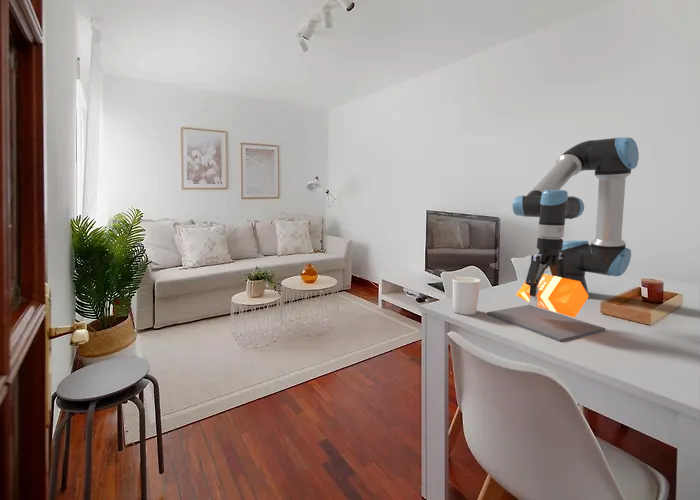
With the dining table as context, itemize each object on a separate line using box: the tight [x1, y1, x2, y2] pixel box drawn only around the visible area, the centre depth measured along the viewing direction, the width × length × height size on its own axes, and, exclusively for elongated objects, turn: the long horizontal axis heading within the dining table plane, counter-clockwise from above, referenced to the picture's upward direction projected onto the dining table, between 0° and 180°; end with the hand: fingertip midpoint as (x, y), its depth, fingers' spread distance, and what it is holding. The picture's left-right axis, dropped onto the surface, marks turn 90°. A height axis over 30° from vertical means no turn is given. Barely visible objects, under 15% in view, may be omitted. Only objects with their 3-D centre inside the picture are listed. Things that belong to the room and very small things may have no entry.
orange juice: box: [515, 273, 590, 319], centre depth 126 cm, size 8×9×20 cm
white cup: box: [451, 276, 482, 316], centre depth 138 cm, size 10×10×12 cm
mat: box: [486, 304, 606, 343], centre depth 128 cm, size 22×28×1 cm
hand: (544, 303), depth 127 cm, fingers closed on orange juice, 10 cm apart
